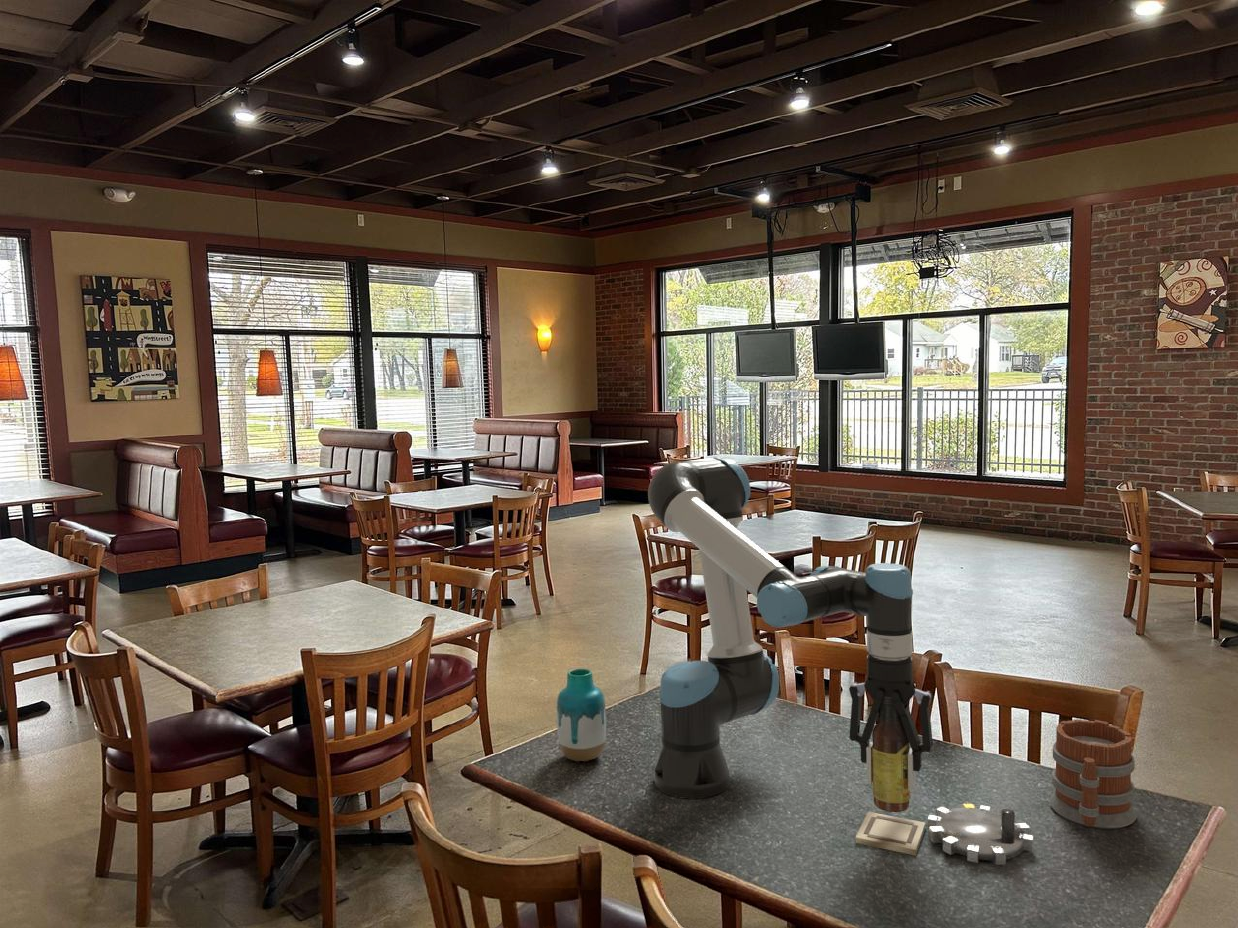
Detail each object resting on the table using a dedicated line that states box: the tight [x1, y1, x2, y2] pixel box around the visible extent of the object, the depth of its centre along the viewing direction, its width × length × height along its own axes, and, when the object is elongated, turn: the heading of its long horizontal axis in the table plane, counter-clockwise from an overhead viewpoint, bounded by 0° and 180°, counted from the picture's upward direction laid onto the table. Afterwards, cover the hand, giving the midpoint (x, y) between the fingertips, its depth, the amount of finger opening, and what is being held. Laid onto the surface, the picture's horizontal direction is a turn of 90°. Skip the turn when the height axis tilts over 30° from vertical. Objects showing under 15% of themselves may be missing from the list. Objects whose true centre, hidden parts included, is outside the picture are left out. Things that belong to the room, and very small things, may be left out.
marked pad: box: [854, 811, 926, 856], centre depth 154 cm, size 10×10×1 cm
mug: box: [1048, 719, 1138, 830], centre depth 157 cm, size 14×19×15 cm
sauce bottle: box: [871, 696, 911, 813], centre depth 152 cm, size 7×6×20 cm
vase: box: [556, 667, 607, 762], centre depth 189 cm, size 11×11×19 cm
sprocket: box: [927, 803, 1034, 866], centre depth 151 cm, size 17×16×7 cm
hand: (891, 783), depth 153 cm, fingers closed on sauce bottle, 6 cm apart
